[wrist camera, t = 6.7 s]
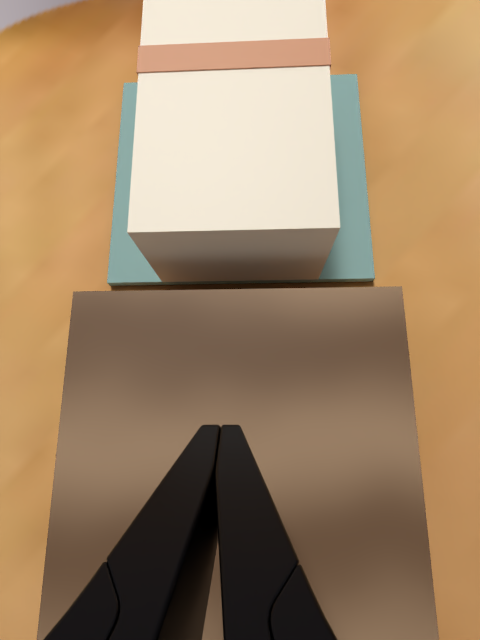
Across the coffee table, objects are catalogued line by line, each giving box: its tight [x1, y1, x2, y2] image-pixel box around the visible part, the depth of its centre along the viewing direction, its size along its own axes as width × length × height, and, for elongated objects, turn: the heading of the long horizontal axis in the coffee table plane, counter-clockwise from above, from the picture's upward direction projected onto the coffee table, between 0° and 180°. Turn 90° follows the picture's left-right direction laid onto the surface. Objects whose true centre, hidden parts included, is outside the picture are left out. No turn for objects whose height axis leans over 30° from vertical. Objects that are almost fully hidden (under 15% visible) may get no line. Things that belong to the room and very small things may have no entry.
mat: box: [107, 74, 375, 286], centre depth 20 cm, size 11×12×1 cm
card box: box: [127, 0, 340, 282], centre depth 17 cm, size 5×7×10 cm
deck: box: [37, 287, 439, 640], centre depth 14 cm, size 18×12×4 cm, turn 0°
